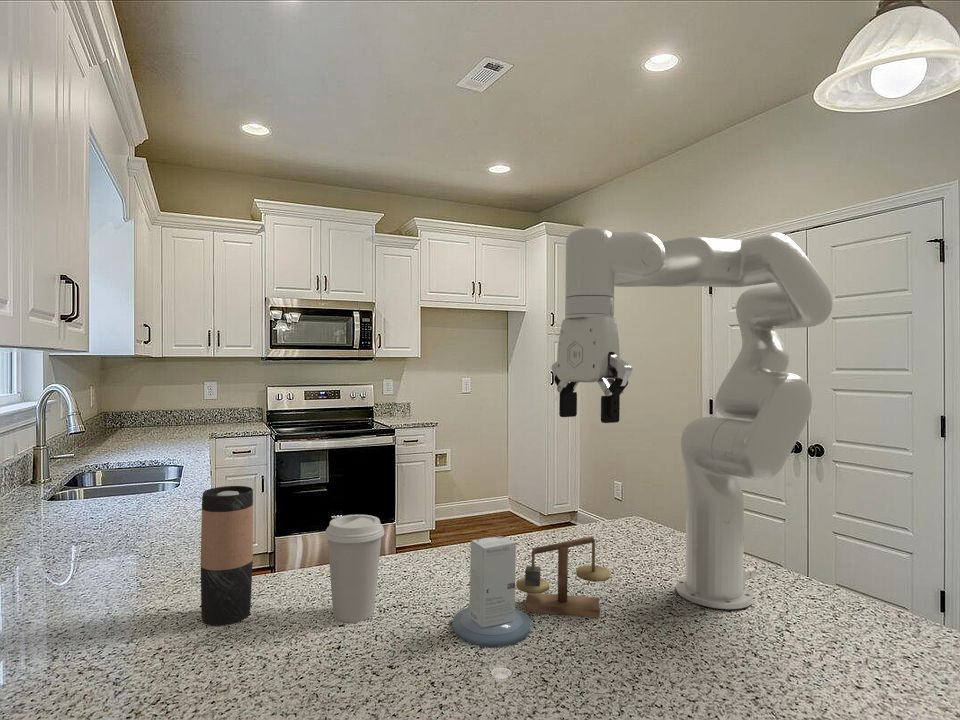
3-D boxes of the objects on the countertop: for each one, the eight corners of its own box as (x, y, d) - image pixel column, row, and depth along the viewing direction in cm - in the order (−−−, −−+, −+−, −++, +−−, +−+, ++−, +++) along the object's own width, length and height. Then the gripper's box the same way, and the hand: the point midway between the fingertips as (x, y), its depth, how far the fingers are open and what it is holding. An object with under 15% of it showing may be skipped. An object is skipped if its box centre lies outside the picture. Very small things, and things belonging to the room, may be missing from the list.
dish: (502, 604, 96) (502, 597, 96) (546, 634, 86) (546, 626, 86) (439, 620, 90) (439, 613, 90) (477, 654, 80) (477, 646, 80)
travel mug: (262, 609, 93) (264, 487, 93) (227, 630, 86) (229, 498, 86) (225, 602, 96) (226, 484, 96) (188, 622, 89) (190, 493, 89)
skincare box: (482, 629, 85) (483, 548, 85) (467, 617, 89) (468, 540, 89) (516, 620, 88) (517, 542, 88) (501, 609, 92) (502, 534, 92)
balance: (609, 604, 97) (609, 532, 97) (611, 619, 91) (612, 542, 91) (517, 597, 99) (518, 527, 99) (514, 611, 94) (515, 536, 94)
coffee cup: (362, 596, 99) (363, 510, 99) (395, 614, 92) (396, 521, 92) (312, 612, 92) (313, 520, 93) (343, 633, 86) (344, 533, 86)
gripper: (536, 312, 94) (535, 415, 94) (610, 304, 80) (609, 426, 80) (572, 314, 98) (571, 414, 98) (648, 307, 83) (647, 424, 83)
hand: (588, 419), depth 89 cm, fingers open, 9 cm apart
